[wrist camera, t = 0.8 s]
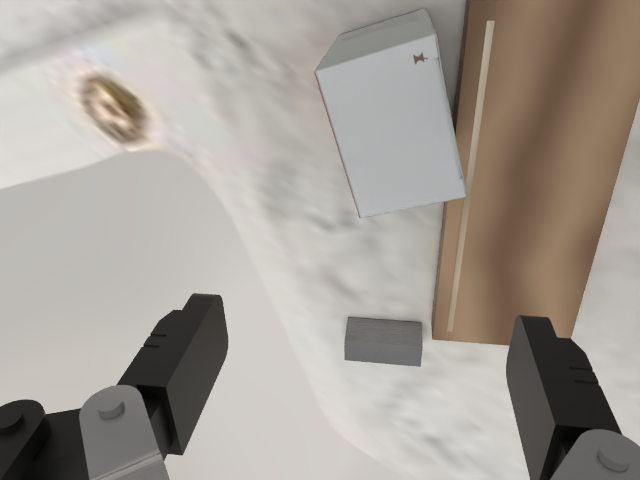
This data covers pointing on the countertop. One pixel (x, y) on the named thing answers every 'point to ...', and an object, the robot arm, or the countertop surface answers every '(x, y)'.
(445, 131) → the small box
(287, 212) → the countertop surface
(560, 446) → the robot arm
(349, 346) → the block
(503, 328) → the plank
